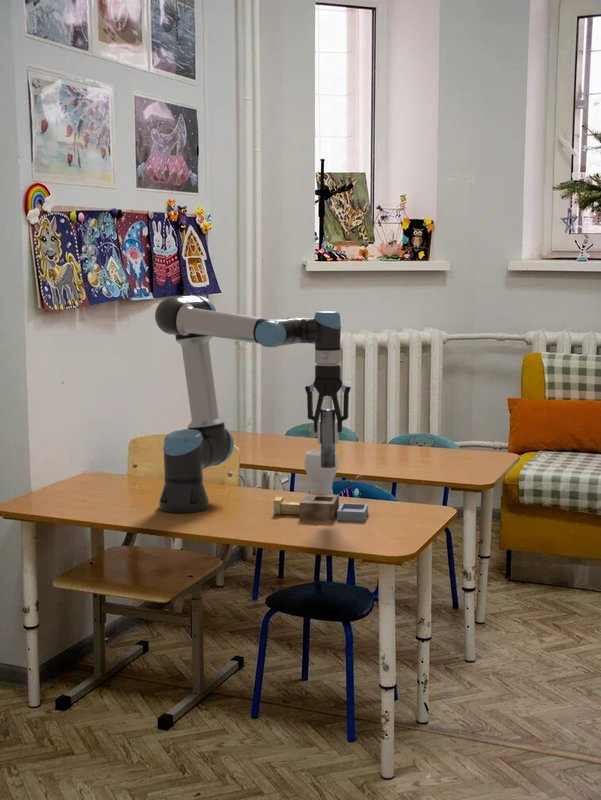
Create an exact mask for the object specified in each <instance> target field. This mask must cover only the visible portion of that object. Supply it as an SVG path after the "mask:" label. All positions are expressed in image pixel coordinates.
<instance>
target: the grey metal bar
mask: <svg viewBox="0 0 601 800" xmlns="http://www.w3.org/2000/svg"><path fill="white" fill-rule="evenodd" d="M319 420H320V422H321V443H320V450H321V467H323V468H333V467H335V452H336V444H335V421H336V413H335V409H334V408H321V410H320V416H319Z"/></svg>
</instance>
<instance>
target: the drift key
mask: <svg viewBox="0 0 601 800" xmlns="http://www.w3.org/2000/svg"><path fill="white" fill-rule="evenodd" d="M273 515H299V516H300V502H293V501H284V497H283V496H276V497H275V498H274V499H273Z"/></svg>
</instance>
